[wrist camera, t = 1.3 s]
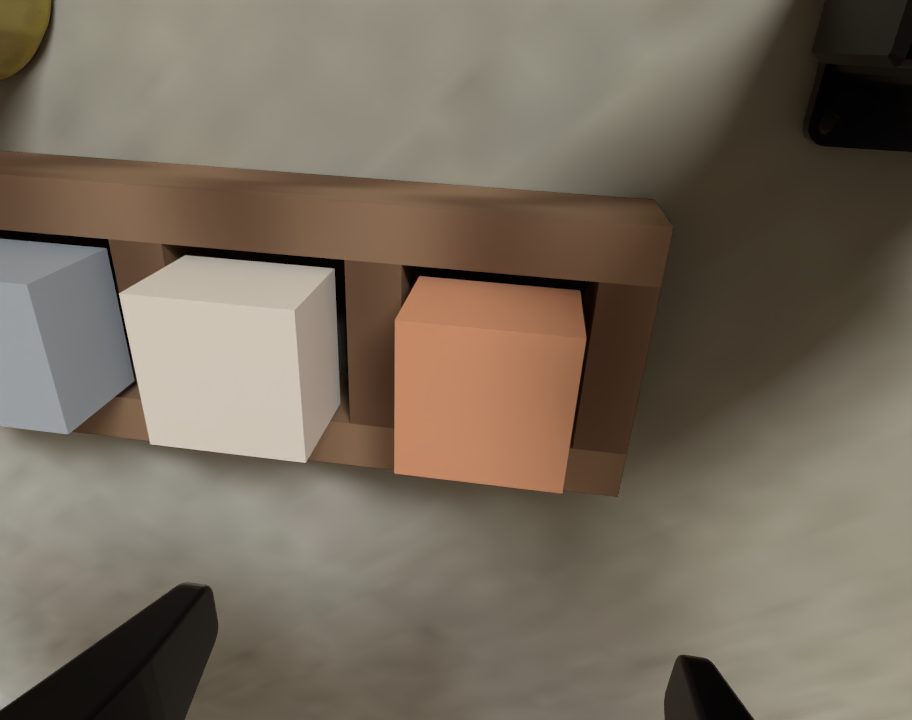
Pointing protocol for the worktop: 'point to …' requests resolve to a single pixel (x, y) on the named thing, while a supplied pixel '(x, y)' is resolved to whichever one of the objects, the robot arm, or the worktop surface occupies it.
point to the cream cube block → (235, 355)
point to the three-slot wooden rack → (371, 271)
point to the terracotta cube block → (487, 382)
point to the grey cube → (58, 335)
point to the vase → (21, 32)
